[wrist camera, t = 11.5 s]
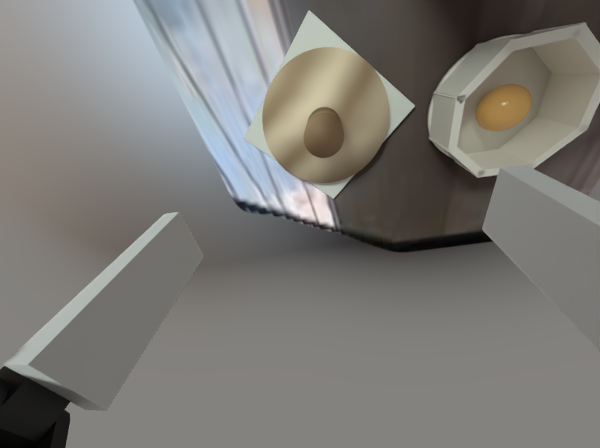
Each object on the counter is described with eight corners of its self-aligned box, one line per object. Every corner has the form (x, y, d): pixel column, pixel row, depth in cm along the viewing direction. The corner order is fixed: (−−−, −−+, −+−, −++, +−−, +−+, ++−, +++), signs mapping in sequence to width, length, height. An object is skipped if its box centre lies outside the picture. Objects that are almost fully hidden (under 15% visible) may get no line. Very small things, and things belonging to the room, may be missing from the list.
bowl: (404, 119, 28) (421, 131, 23) (507, 2, 22) (562, -17, 17) (469, 176, 31) (497, 196, 26) (576, 88, 25) (639, 93, 20)
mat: (244, 137, 31) (243, 138, 30) (309, 11, 23) (308, 10, 23) (333, 197, 35) (333, 198, 34) (413, 105, 27) (415, 105, 27)
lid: (243, 138, 30) (225, 155, 25) (309, 10, 23) (304, -9, 17) (333, 199, 34) (335, 225, 28) (415, 106, 27) (440, 117, 21)
